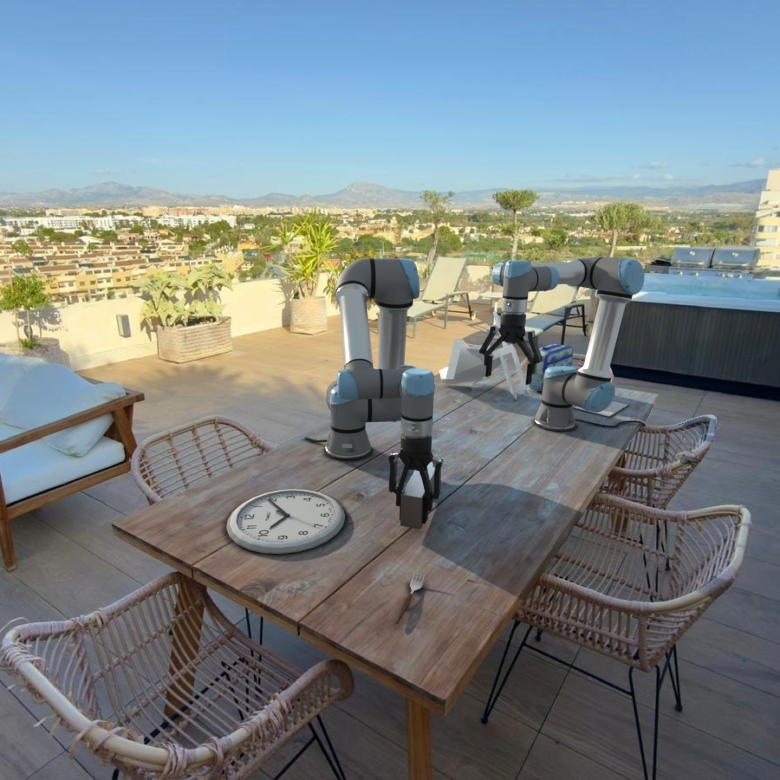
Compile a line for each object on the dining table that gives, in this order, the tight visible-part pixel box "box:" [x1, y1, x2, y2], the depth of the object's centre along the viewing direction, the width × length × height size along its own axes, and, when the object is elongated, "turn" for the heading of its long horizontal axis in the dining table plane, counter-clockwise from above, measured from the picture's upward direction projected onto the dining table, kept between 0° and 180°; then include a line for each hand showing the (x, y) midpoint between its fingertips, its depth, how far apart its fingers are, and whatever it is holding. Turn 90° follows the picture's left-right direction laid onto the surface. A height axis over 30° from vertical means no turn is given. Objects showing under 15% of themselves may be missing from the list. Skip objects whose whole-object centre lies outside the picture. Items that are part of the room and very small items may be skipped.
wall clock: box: [226, 488, 346, 555], centre depth 135 cm, size 30×2×30 cm
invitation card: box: [573, 400, 629, 418], centre depth 226 cm, size 21×1×15 cm
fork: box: [396, 568, 427, 625], centre depth 107 cm, size 3×16×2 cm, turn 160°
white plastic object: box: [438, 310, 531, 400], centre depth 245 cm, size 37×45×31 cm
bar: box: [399, 462, 435, 530], centre depth 138 cm, size 22×5×9 cm, turn 163°
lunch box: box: [528, 343, 574, 392], centre depth 248 cm, size 26×11×21 cm, turn 134°
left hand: (413, 519), depth 132 cm, fingers closed on bar, 5 cm apart
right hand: (507, 380), depth 165 cm, fingers open, 13 cm apart
